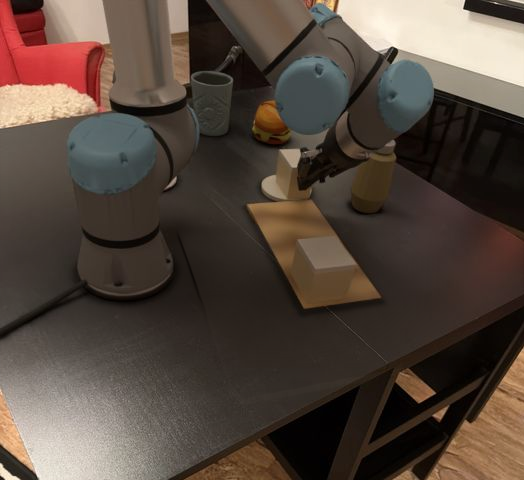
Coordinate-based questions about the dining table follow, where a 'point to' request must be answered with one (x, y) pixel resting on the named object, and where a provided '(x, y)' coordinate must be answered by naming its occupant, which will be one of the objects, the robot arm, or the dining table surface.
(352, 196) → the squeeze bottle
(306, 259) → the cake
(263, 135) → the cheeseburger
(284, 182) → the cake slice
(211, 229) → the dining table surface
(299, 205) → the serving board
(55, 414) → the dining table surface
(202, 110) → the drinking glass
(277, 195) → the plate
